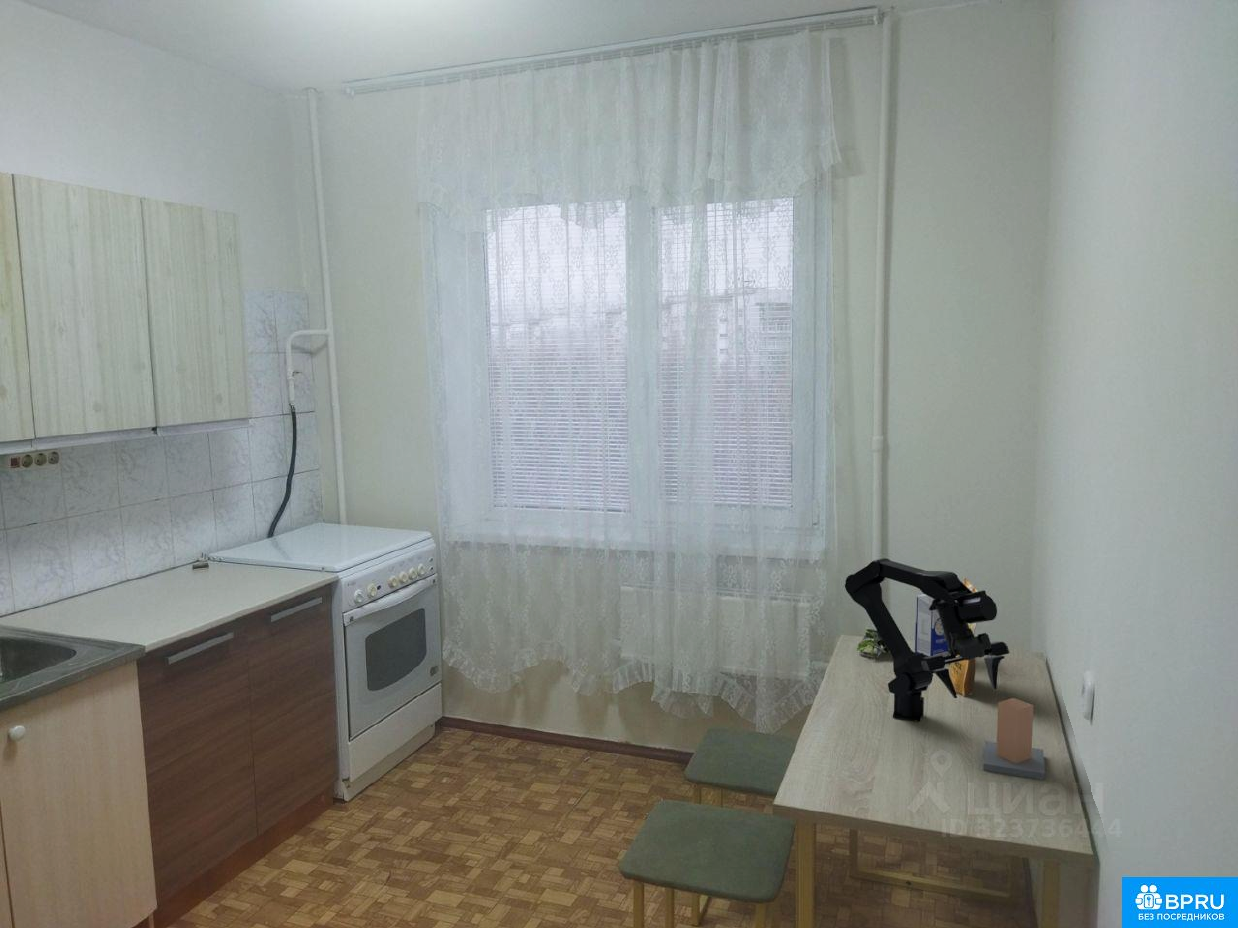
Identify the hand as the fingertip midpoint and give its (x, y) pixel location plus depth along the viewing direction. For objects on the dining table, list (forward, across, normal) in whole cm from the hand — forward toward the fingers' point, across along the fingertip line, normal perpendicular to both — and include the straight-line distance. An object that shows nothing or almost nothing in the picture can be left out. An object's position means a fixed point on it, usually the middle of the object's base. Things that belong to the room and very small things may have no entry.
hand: (975, 693), depth 198 cm
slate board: (+15, +2, -6) cm, 16 cm away
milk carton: (-5, +9, +60) cm, 61 cm away
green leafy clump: (-8, -6, +60) cm, 60 cm away
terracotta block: (+14, +2, -6) cm, 15 cm away
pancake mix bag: (+2, +9, +37) cm, 38 cm away
